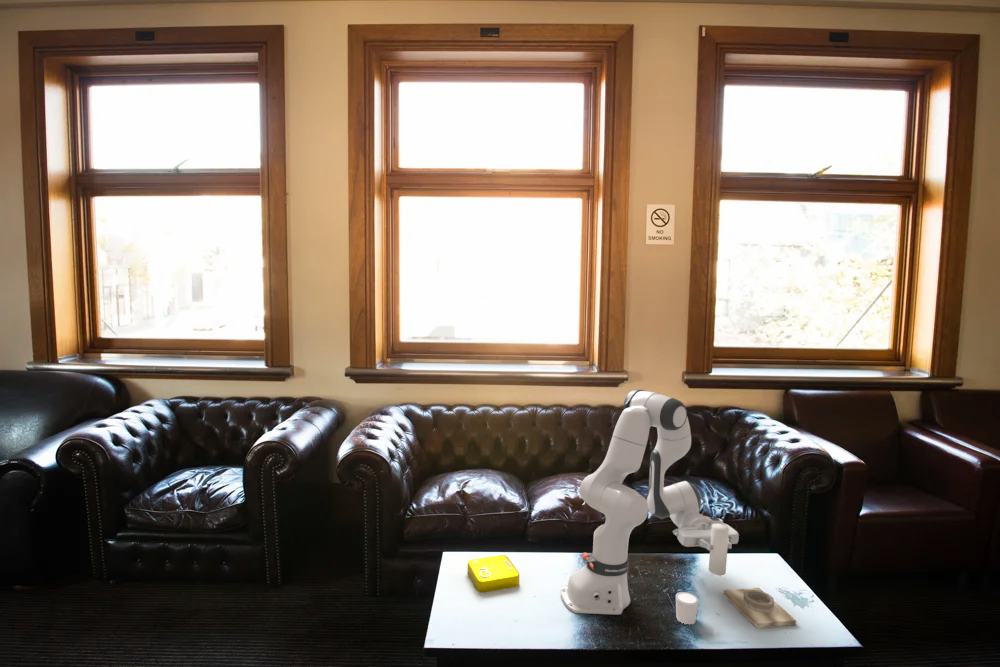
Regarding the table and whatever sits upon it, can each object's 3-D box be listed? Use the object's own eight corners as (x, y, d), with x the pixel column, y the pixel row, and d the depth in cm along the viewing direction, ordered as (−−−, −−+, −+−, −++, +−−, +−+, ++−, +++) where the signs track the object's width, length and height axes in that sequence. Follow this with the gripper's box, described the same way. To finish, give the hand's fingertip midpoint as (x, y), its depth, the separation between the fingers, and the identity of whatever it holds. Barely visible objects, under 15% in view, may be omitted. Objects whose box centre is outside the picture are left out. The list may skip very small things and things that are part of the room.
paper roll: (714, 575, 177) (717, 531, 176) (705, 567, 182) (708, 524, 181) (728, 574, 178) (732, 530, 177) (719, 566, 183) (723, 523, 182)
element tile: (520, 587, 185) (521, 573, 185) (478, 594, 180) (478, 581, 180) (505, 565, 199) (506, 552, 199) (465, 571, 194) (466, 558, 194)
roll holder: (757, 628, 166) (758, 615, 166) (723, 594, 184) (724, 583, 183) (795, 624, 168) (796, 612, 168) (758, 591, 186) (759, 580, 185)
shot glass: (694, 613, 173) (695, 592, 172) (700, 627, 166) (701, 605, 165) (672, 611, 173) (673, 590, 173) (676, 625, 166) (678, 603, 166)
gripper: (671, 521, 190) (691, 540, 176) (724, 518, 194) (749, 536, 180) (669, 538, 191) (690, 558, 177) (723, 535, 194) (747, 554, 181)
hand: (720, 547), depth 179 cm, fingers closed on paper roll, 5 cm apart
